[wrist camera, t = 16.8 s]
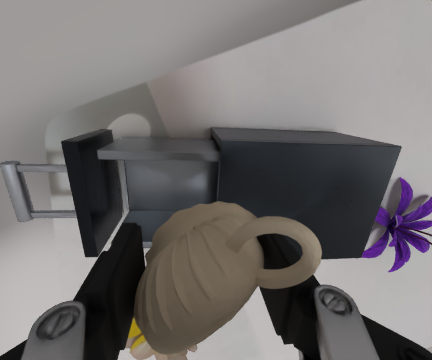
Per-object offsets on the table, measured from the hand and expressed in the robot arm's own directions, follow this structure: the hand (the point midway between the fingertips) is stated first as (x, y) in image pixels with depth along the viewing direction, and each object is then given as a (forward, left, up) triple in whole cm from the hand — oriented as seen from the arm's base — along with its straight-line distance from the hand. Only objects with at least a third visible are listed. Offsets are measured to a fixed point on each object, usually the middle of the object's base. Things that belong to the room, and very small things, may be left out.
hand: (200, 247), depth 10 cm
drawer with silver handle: (-7, -2, -17) cm, 18 cm away
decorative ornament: (0, 0, -1) cm, 1 cm away
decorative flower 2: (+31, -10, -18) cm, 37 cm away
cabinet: (+10, -2, -18) cm, 21 cm away
